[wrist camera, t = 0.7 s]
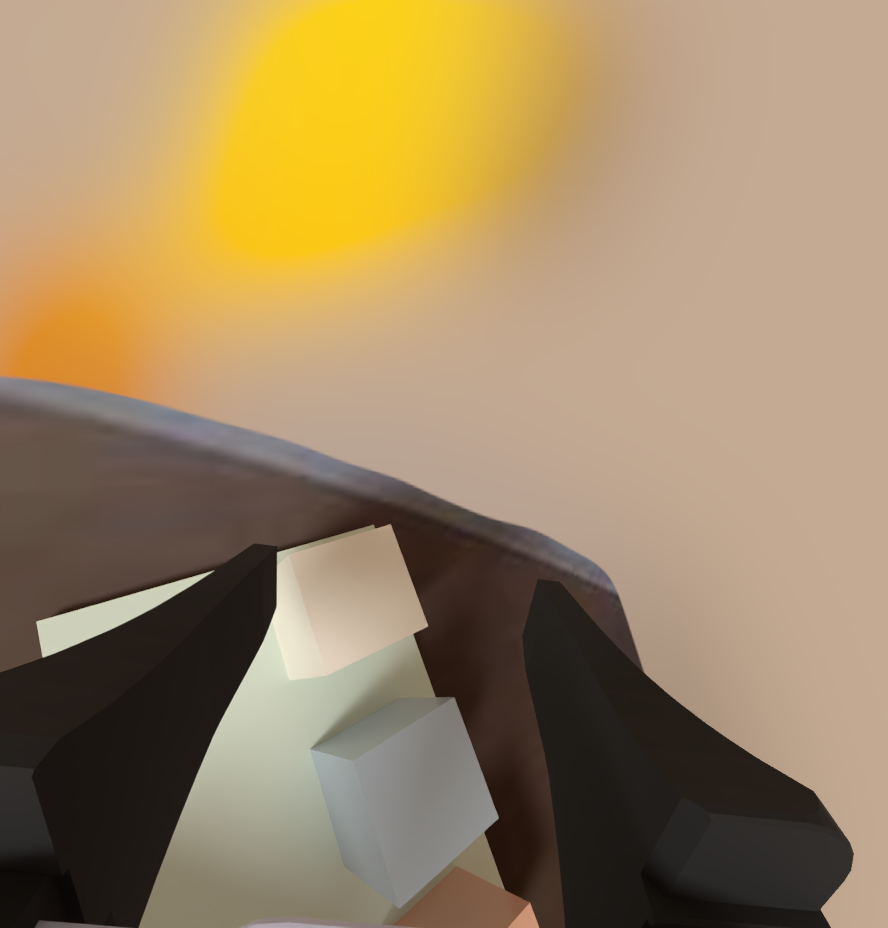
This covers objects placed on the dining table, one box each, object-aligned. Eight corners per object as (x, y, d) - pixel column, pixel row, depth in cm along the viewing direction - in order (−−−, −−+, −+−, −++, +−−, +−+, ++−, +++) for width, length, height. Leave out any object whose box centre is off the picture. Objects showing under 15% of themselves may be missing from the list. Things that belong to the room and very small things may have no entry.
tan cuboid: (379, 638, 28) (428, 626, 23) (289, 680, 24) (326, 675, 20) (349, 552, 29) (390, 524, 24) (260, 580, 26) (288, 554, 21)
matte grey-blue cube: (433, 797, 26) (498, 818, 21) (344, 866, 22) (399, 909, 18) (399, 697, 27) (454, 697, 22) (309, 749, 24) (353, 760, 19)
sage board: (522, 965, 26) (534, 972, 25) (180, 1393, 15) (183, 1429, 15) (367, 528, 31) (373, 524, 31) (39, 624, 21) (36, 621, 20)
